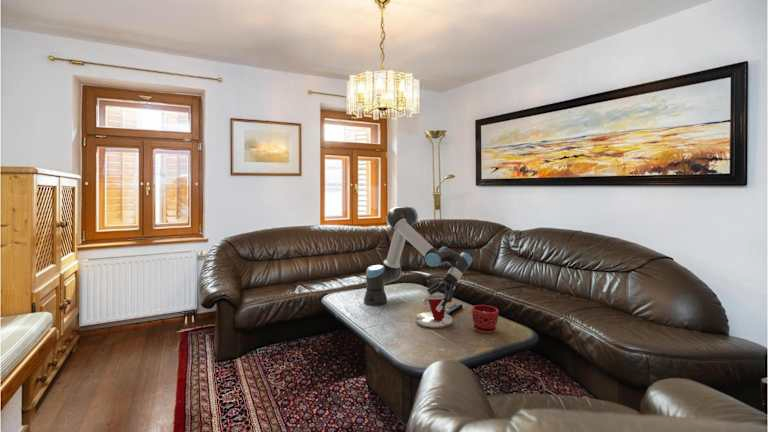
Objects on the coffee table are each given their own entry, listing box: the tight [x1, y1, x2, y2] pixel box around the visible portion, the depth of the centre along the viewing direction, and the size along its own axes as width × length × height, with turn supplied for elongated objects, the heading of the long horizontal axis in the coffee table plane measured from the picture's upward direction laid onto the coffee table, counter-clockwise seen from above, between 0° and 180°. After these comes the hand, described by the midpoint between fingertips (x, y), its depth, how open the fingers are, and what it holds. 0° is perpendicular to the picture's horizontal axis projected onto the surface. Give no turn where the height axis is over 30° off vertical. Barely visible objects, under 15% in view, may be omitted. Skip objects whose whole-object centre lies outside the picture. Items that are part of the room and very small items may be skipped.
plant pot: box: [471, 304, 499, 335], centre depth 192 cm, size 13×13×12 cm
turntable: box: [415, 311, 453, 329], centre depth 205 cm, size 20×20×2 cm
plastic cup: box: [427, 294, 446, 319], centre depth 203 cm, size 11×11×12 cm
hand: (430, 306), depth 203 cm, fingers open, 13 cm apart
